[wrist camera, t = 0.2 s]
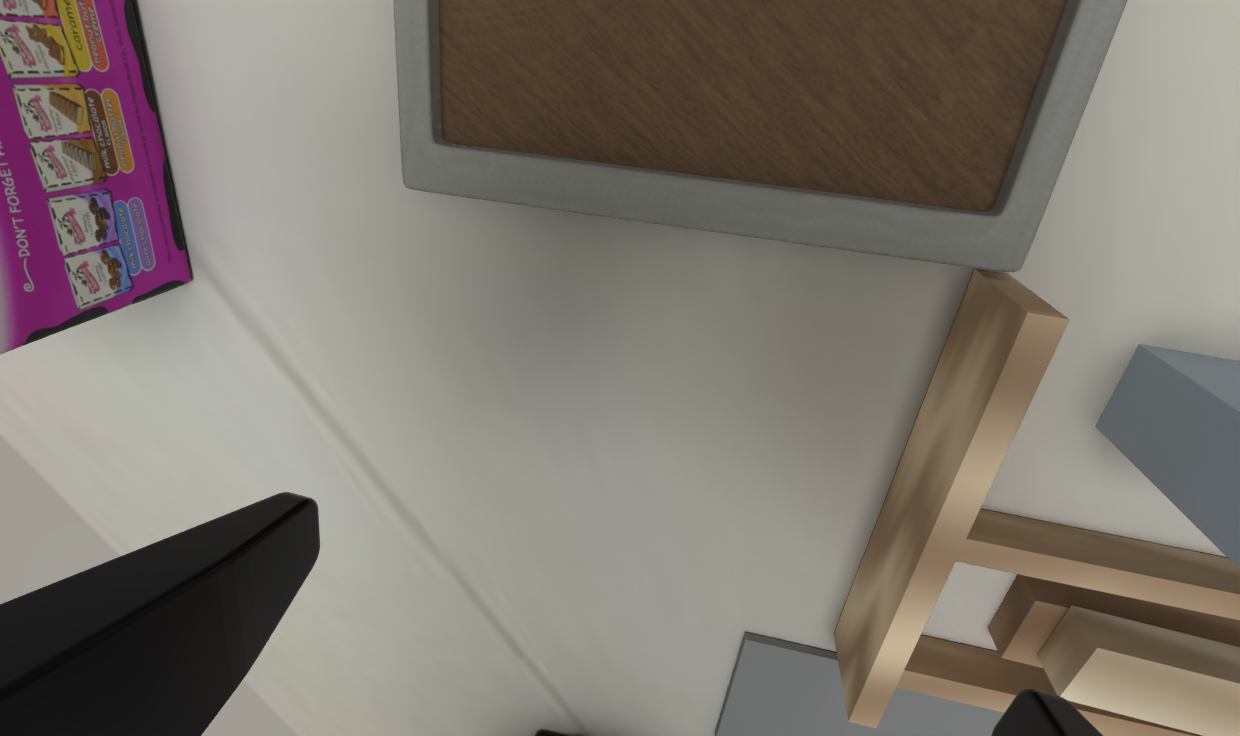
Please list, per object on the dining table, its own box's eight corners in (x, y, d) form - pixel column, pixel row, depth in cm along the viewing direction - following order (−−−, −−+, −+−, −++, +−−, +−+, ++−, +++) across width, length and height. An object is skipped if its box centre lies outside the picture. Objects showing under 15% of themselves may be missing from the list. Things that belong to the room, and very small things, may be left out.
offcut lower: (1329, 696, 24) (1376, 746, 22) (982, 617, 25) (1001, 658, 24) (1382, 643, 23) (1437, 691, 21) (1013, 561, 24) (1035, 600, 22)
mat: (1086, 825, 28) (1091, 834, 28) (714, 734, 30) (714, 742, 30) (1164, 726, 25) (1169, 736, 25) (745, 632, 27) (745, 639, 27)
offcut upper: (1292, 719, 23) (1333, 769, 21) (1037, 654, 23) (1058, 698, 22) (1342, 672, 21) (1391, 721, 20) (1072, 605, 22) (1097, 647, 20)
